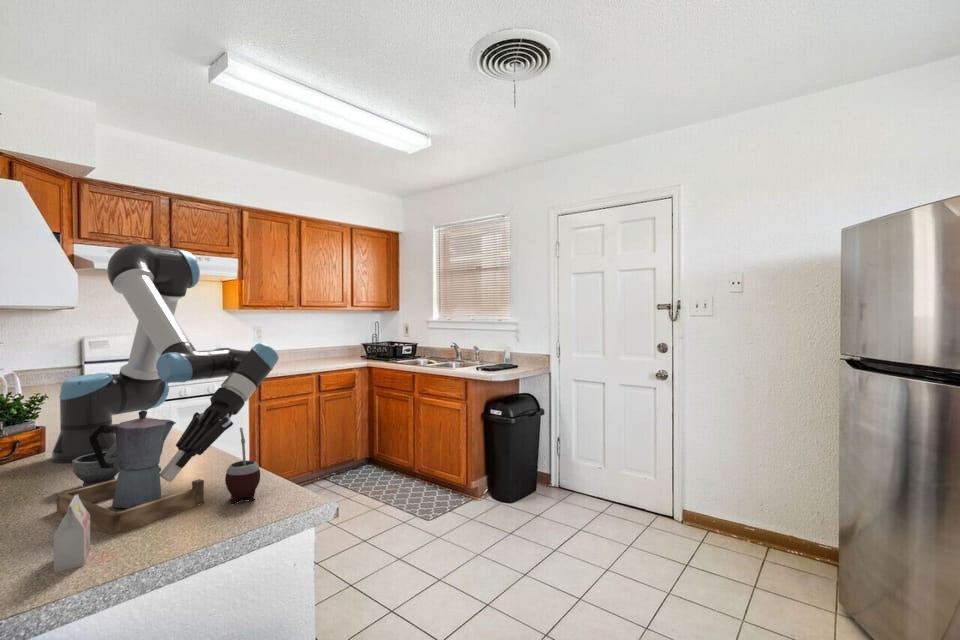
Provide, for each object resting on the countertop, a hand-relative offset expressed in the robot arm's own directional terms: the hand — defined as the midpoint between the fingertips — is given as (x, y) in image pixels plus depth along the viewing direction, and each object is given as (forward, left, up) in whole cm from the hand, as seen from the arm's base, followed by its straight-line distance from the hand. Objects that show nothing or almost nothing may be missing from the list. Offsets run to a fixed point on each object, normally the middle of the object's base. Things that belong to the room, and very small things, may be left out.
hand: (165, 478), depth 107 cm
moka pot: (+2, -5, -4) cm, 7 cm away
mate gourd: (+8, +16, -4) cm, 19 cm away
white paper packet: (+27, -8, -4) cm, 28 cm away
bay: (+5, -5, -4) cm, 8 cm away
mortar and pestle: (-14, -16, -4) cm, 21 cm away
